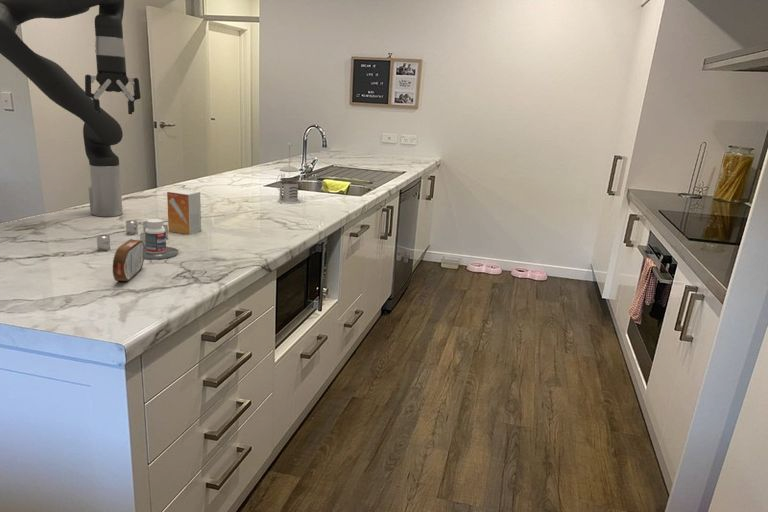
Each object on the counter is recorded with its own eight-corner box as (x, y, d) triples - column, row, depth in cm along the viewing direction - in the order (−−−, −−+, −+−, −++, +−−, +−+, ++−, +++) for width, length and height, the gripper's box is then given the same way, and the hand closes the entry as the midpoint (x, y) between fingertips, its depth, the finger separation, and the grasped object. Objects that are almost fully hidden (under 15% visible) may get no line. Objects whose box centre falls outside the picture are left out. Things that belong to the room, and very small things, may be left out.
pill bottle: (159, 255, 151) (157, 223, 148) (141, 253, 152) (140, 221, 149) (170, 250, 156) (168, 219, 153) (153, 248, 157) (152, 217, 154)
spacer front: (154, 239, 168) (154, 226, 167) (159, 236, 171) (159, 224, 170) (164, 240, 168) (164, 227, 167) (169, 237, 171) (169, 225, 170)
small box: (168, 231, 178) (166, 191, 174) (180, 227, 183) (179, 188, 180) (189, 235, 175) (188, 194, 172) (201, 230, 181) (200, 191, 178)
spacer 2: (138, 248, 158) (137, 234, 157) (144, 245, 161) (143, 232, 160) (149, 249, 158) (148, 235, 157) (154, 246, 161) (154, 233, 160)
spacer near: (95, 251, 153) (94, 237, 152) (102, 248, 156) (101, 234, 155) (106, 252, 153) (105, 238, 152) (112, 249, 156) (111, 235, 155)
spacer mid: (141, 236, 171) (140, 223, 169) (146, 233, 174) (146, 221, 173) (151, 236, 170) (150, 224, 169) (156, 234, 173) (156, 222, 172)
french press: (305, 202, 239) (306, 143, 232) (286, 205, 229) (287, 144, 222) (287, 198, 244) (288, 140, 237) (269, 201, 234) (269, 141, 227)
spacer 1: (124, 234, 171) (123, 221, 170) (130, 232, 174) (129, 219, 173) (134, 235, 171) (133, 222, 169) (139, 233, 174) (139, 220, 173)
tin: (134, 266, 143) (132, 234, 140) (147, 267, 143) (145, 235, 141) (112, 286, 128) (109, 251, 126) (126, 286, 129) (124, 251, 126)
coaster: (127, 257, 149) (127, 255, 149) (148, 246, 160) (148, 244, 160) (166, 261, 148) (166, 259, 148) (185, 250, 159) (185, 248, 159)
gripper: (84, 52, 151) (89, 113, 155) (140, 56, 158) (143, 115, 163) (80, 52, 156) (85, 111, 161) (134, 57, 164) (138, 113, 169)
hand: (114, 113), depth 162 cm, fingers open, 8 cm apart
